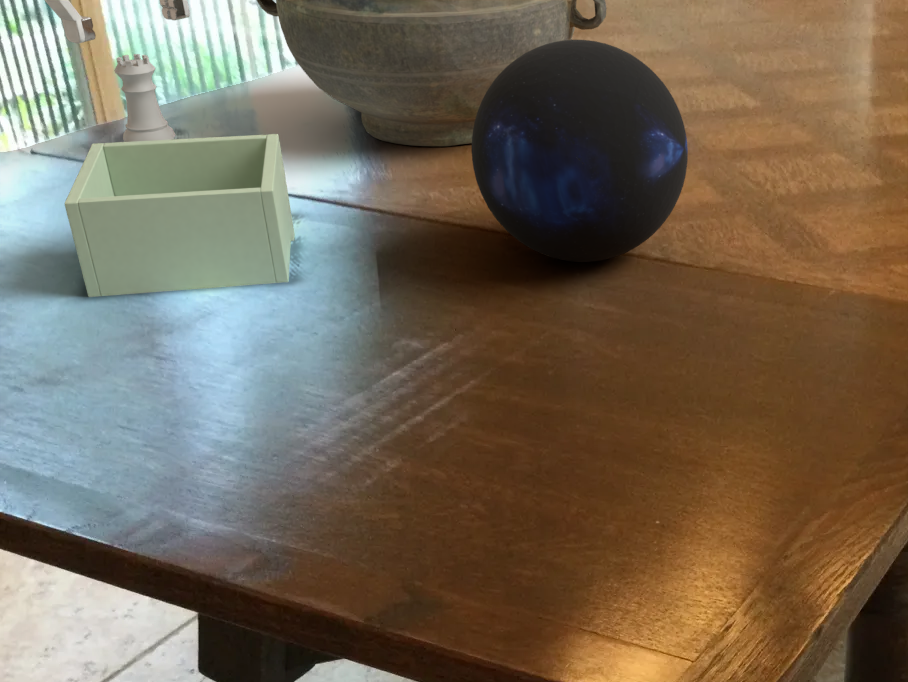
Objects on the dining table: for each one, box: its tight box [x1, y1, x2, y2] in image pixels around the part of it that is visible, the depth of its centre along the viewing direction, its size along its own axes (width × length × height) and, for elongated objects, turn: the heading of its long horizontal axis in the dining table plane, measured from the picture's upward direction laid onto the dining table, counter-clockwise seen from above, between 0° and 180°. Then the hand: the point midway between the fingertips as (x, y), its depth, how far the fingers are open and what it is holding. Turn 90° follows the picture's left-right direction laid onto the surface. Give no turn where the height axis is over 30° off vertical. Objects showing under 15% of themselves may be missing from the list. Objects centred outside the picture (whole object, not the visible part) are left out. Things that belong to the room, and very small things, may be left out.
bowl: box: [256, 0, 607, 147], centre depth 121 cm, size 32×26×15 cm
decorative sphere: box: [471, 39, 689, 263], centre depth 95 cm, size 15×15×15 cm
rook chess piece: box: [113, 53, 177, 142], centre depth 115 cm, size 4×4×8 cm
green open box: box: [64, 133, 296, 298], centre depth 93 cm, size 13×13×8 cm
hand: (131, 29), depth 111 cm, fingers open, 8 cm apart
